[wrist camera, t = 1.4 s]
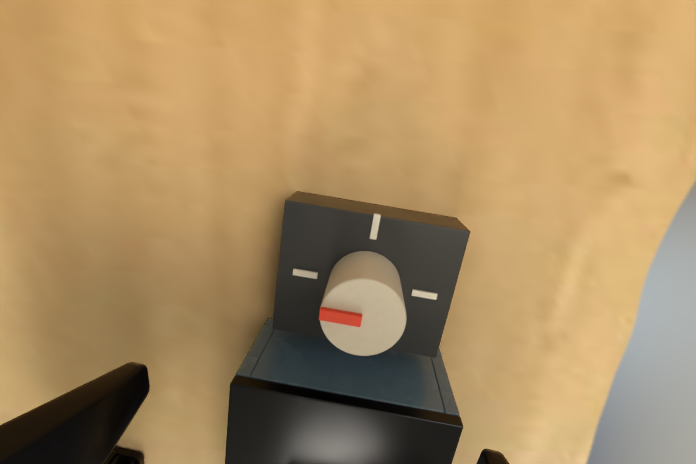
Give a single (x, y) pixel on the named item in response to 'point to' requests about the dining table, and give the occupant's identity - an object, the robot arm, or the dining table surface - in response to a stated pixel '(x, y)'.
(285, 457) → the lid
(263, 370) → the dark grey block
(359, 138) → the dining table surface
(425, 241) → the control block
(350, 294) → the dial
